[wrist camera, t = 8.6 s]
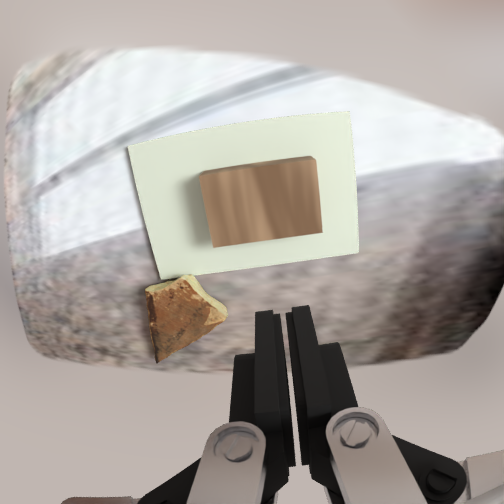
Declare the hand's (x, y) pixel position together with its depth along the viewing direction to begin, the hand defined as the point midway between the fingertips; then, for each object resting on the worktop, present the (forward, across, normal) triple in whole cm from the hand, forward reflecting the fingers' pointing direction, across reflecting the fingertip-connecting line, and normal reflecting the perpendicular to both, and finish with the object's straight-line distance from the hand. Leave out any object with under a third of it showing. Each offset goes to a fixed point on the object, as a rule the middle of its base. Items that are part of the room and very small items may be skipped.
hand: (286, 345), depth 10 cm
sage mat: (+20, +2, 0) cm, 20 cm away
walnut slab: (+18, -4, 0) cm, 18 cm away
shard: (+19, +10, +11) cm, 24 cm away
